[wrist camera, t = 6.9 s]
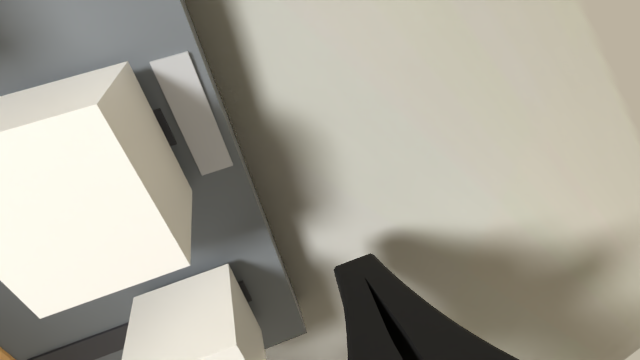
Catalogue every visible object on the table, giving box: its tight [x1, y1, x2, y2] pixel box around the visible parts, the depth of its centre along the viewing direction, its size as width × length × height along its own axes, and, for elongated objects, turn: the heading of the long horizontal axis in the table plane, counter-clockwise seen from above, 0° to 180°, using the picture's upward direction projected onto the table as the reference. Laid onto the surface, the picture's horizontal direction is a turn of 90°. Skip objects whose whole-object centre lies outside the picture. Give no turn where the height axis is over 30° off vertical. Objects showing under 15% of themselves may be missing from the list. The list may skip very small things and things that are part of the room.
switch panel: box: [0, 0, 307, 360], centre depth 10 cm, size 20×10×2 cm, turn 12°
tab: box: [0, 61, 192, 319], centre depth 8 cm, size 4×3×3 cm
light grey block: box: [122, 264, 266, 360], centre depth 11 cm, size 4×3×3 cm
